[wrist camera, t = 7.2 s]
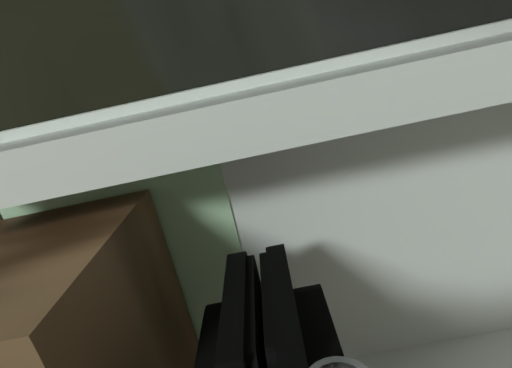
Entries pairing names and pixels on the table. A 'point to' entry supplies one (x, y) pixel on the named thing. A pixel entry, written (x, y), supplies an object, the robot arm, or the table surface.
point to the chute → (321, 188)
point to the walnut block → (92, 289)
